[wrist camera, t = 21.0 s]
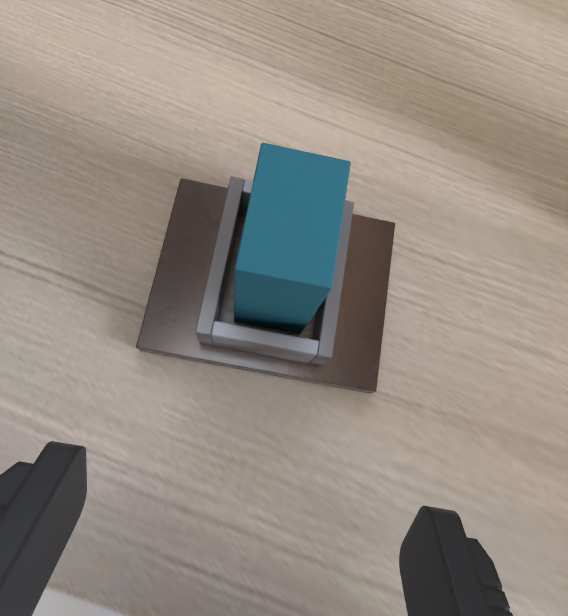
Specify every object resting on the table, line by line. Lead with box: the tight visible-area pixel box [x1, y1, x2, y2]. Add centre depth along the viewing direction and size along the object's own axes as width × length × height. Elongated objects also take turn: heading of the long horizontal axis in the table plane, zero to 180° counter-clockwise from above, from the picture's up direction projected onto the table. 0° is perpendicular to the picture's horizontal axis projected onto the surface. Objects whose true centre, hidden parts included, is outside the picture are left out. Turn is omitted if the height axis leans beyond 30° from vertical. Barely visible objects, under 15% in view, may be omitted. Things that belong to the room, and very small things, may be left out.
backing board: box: [136, 177, 395, 393], centre depth 27 cm, size 14×11×4 cm
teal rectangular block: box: [234, 143, 351, 334], centre depth 24 cm, size 4×6×9 cm, turn 170°
